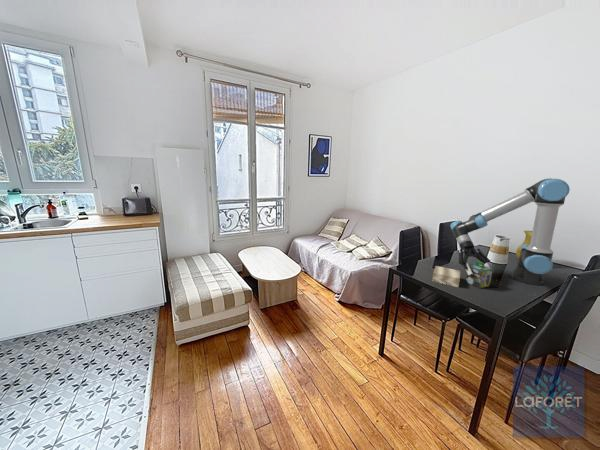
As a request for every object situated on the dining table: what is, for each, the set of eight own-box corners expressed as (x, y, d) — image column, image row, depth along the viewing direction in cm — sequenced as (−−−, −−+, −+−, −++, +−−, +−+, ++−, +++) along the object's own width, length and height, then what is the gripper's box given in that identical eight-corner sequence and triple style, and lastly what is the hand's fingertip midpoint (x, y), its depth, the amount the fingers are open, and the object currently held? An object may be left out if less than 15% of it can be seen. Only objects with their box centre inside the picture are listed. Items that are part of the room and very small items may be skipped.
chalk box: (489, 286, 147) (494, 263, 143) (479, 288, 144) (484, 265, 140) (474, 280, 155) (478, 258, 152) (464, 282, 152) (468, 259, 149)
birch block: (458, 279, 156) (460, 270, 155) (458, 287, 145) (459, 278, 144) (434, 274, 164) (435, 265, 163) (432, 281, 152) (433, 272, 151)
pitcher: (509, 260, 190) (518, 229, 184) (520, 258, 199) (528, 228, 193) (537, 269, 175) (548, 236, 170) (548, 266, 184) (558, 234, 178)
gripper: (478, 245, 163) (493, 275, 151) (444, 246, 159) (457, 276, 148) (486, 239, 156) (503, 271, 145) (451, 240, 153) (466, 272, 142)
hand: (480, 274), depth 147 cm, fingers open, 13 cm apart
